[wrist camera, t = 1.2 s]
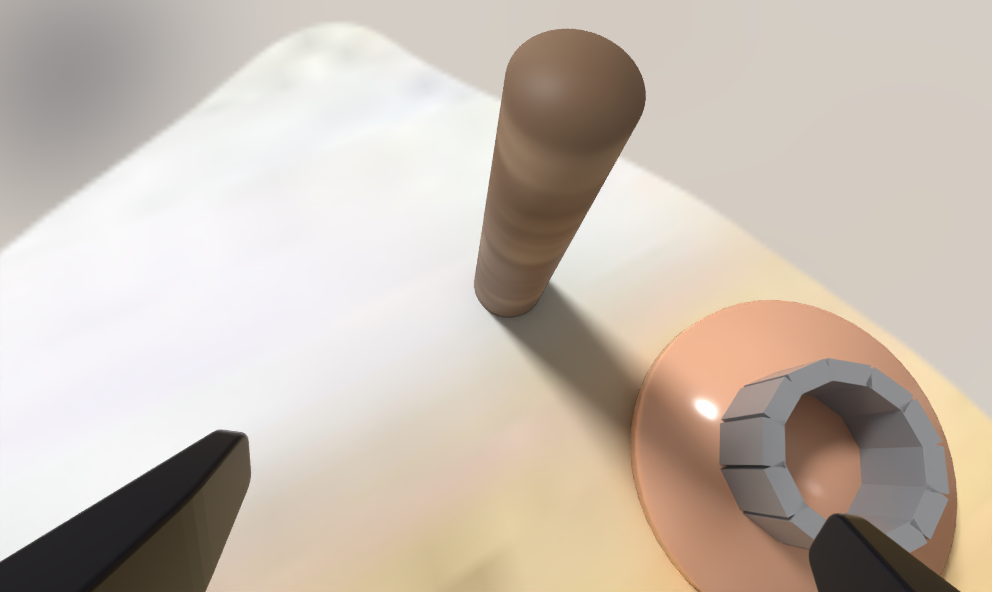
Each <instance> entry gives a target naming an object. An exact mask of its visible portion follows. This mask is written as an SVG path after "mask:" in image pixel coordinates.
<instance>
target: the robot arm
mask: <svg viewBox="0 0 992 592" xmlns="http://www.w3.org/2000/svg"><path fill="white" fill-rule="evenodd" d="M250 479H251V466H250V452H249V441H248V437H247V435H246V434H245V433H243V432H236V431H229V430H217V431H214V432H212V433H210V434H209V435H207V436H205V437H204V438H202V439H200V440H199V441H197V442H196V443H194V444H192V445H191V446H189V447H187V448H186V449H184V450H182V451H181V452H179V453H178V454H176V455H174V456H173V457H171V458H169V459H168V460H166V461H164V462H163V463H161V464H160V465H158V466H156V467H155V468H153V469H151V470H150V471H148V472H146V473H145V474H143V475H141V476H140V477H138V478H137V479H135V480H133V481H132V482H130V483H128V484H127V485H125V486H123V487H122V488H120V489H119V490H117V491H115V492H114V493H112V494H110V495H109V496H107V497H105V498H104V499H102V500H101V501H99V502H97V503H96V504H94V505H92V506H91V507H89V508H87V509H86V510H84V511H82V512H81V513H79V514H78V515H76V516H74V517H73V518H71V519H69V520H68V521H66V522H64V523H63V524H61V525H60V526H58V527H56V528H55V529H53V530H51V531H50V532H48V533H46V534H45V535H43V536H41V537H40V538H38V539H37V540H35V541H33V542H32V543H30V544H28V545H27V546H25V547H23V548H22V549H20V550H19V551H17V552H15V553H14V554H12V555H10V556H9V557H7V558H5V559H4V560H2V561H1V562H0V592H206V589H207V587H208V585H209V582H210V580H211V578H212V576H213V573H214V571H215V568H216V566H217V563H218V561H219V559H220V556H221V554H222V551H223V549H224V546H225V544H226V541H227V539H228V536H229V534H230V532H231V529H232V527H233V524H234V522H235V519H236V517H237V514H238V512H239V510H240V507H241V505H242V502H243V500H244V497H245V495H246V492H247V490H248V487H249V483H250ZM809 563H810V567H811V570H812V574H813V577H814V580H815V584H816V587H817V590H818V592H960V591H959V590H958V589H956V588H955V587H954V586H952V585H951V584H950V583H948V582H947V581H946V580H944V579H943V578H942V577H941V576H939V575H938V574H937V573H935V572H934V571H933V570H931V569H930V568H929V567H928V566H926V565H925V564H924V563H922V562H921V561H920V560H918V559H917V558H916V557H914V556H913V555H912V554H911V553H909V552H908V551H907V550H905V549H904V548H903V547H901V546H900V545H899V544H898V543H896V542H895V541H894V540H892V539H891V538H890V537H888V536H887V535H886V534H884V533H883V532H882V531H881V530H879V529H878V528H877V527H875V526H874V525H873V524H871V523H870V522H869V521H867V520H866V519H865V518H863V517H860V516H856V515H849V514H842V513H834V514H832V515H830V516H829V517H828V518H827V520H826V521H825V523H824V525H823V526H822V528H821V529H820V531H819V533H818V534H817V536H816V537H815V539H814V541H813V542H812V544H811V546H810V548H809Z"/></svg>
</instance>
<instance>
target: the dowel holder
mask: <svg viewBox="0 0 992 592" xmlns="http://www.w3.org/2000/svg"><path fill="white" fill-rule="evenodd" d="M631 462H632V470H633V477H634V481H635V486H636V490H637V494H638V498H639V501H640V503H641V506H642V509H643V512H644V514H645V517H646V520H647V522H648V524H649V526H650V528H651V530H652V532H653V534H654V536H655V538H656V539H657V541H658V543H659V544H660V546H661V547H662V549H663V550H664V552H665V553H666V555H667V556H668V558H669V559H670V561H671V562H672V563H673V565H674V566H675V567H676V568H677V569H678V570H679V572H680V573H681V574H682V575H683V576H684V578H685V579H686V580H687V581H688V582H689V583H690V584H692V585H693V586H694V587H695V588H696V589H697V590H698V591H699V592H818V590H817V587H816V584H815V580H814V577H813V574H812V570H811V567H810V563H809V548H810V546H811V544H812V542H813V541H814V539H815V537H816V536H817V534H818V533H819V531H820V529H821V528H822V526H823V525H824V523H825V521H826V520H827V518H828V517H829V516H830V515H832V514H834V513H842V514H849V515H856V516H860V517H863V518H865V519H866V520H867V521H869V522H870V523H871V524H873V525H874V526H875V527H877V528H878V529H879V530H881V531H882V532H883V533H884V534H886V535H887V536H888V537H890V538H891V539H892V540H894V541H895V542H896V543H898V544H899V545H900V546H901V547H903V548H904V549H905V550H907V551H908V552H909V553H911V554H912V555H913V556H914V557H916V558H917V559H918V560H920V561H921V562H922V563H924V564H925V565H926V566H928V567H929V568H930V569H931V570H933V571H934V572H935V573H937V574H938V575H939V576H940V575H941V573H942V571H943V569H944V567H945V564H946V561H947V558H948V555H949V553H950V550H951V547H952V542H953V537H954V532H955V527H956V513H957V492H956V479H955V473H954V468H953V462H952V457H951V454H950V451H949V447H948V444H947V440H946V437H945V435H944V432H943V430H942V427H941V425H940V422H939V420H938V417H937V415H936V414H935V412H934V410H933V408H932V406H931V404H930V402H929V400H928V399H927V397H926V395H925V394H924V392H923V391H922V389H921V388H920V386H919V385H918V383H917V382H916V380H915V379H914V378H913V377H912V375H911V374H910V373H909V372H908V370H907V369H906V368H905V367H904V366H903V364H902V363H901V362H900V361H899V360H898V359H897V358H896V357H895V356H894V355H893V354H892V353H891V352H890V351H889V350H888V349H887V348H886V347H885V346H883V345H882V344H881V343H880V342H878V341H877V340H876V339H875V338H873V337H872V336H871V335H870V334H868V333H867V332H865V331H864V330H862V329H861V328H859V327H857V326H856V325H854V324H853V323H851V322H849V321H847V320H845V319H843V318H841V317H839V316H837V315H835V314H833V313H831V312H828V311H825V310H822V309H820V308H817V307H814V306H810V305H805V304H801V303H797V302H789V301H780V300H763V301H753V302H747V303H740V304H737V305H734V306H731V307H727V308H724V309H722V310H720V311H717V312H715V313H713V314H711V315H709V316H707V317H705V318H703V319H702V320H700V321H698V322H696V323H695V324H693V325H692V326H690V327H689V328H687V329H686V330H684V331H683V332H681V333H680V334H679V335H678V336H676V337H675V338H674V339H673V340H672V341H671V342H670V343H669V344H668V345H667V346H666V347H665V348H664V349H663V351H662V352H661V353H660V354H659V356H658V357H657V358H656V359H655V361H654V363H653V364H652V366H651V368H650V369H649V371H648V373H647V374H646V376H645V379H644V381H643V383H642V386H641V388H640V391H639V393H638V397H637V400H636V404H635V408H634V412H633V419H632V426H631Z"/></svg>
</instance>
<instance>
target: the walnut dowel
mask: <svg viewBox="0 0 992 592" xmlns="http://www.w3.org/2000/svg"><path fill="white" fill-rule="evenodd" d="M645 92H646V91H645V86H644V81H643V78H642V75H641V73H640V71H639V69H638V67H637V66H636V64H635V62H634V61H633V60H632V59H631V57H630V56H629V55H628V54H627V53H626V52H625V51H624V50H623V49H622V48H620V47H619V46H618V45H616V44H615V43H613V42H612V41H610V40H608V39H606V38H604V37H602V36H600V35H597V34H595V33H592V32H588V31H583V30H576V29H558V30H551V31H547V32H544V33H541V34H538V35H536V36H534V37H532V38H531V39H529V40H527V41H526V42H525V43H523V44H522V45H521V46H520V47H519V48H518V49H517V50H516V52H515V53H514V55H513V56H512V57H511V59H510V62H509V64H508V66H507V70H506V74H505V80H504V87H503V94H502V100H501V107H500V114H499V120H498V127H497V134H496V140H495V147H494V153H493V160H492V167H491V173H490V180H489V187H488V193H487V200H486V207H485V213H484V220H483V226H482V233H481V240H480V246H479V253H478V260H477V266H476V273H475V280H474V288H475V293H476V296H477V298H478V300H479V301H480V303H481V304H482V305H483V306H484V307H485V308H486V309H487V310H488V311H490V312H491V313H493V314H496V315H498V316H502V317H516V316H520V315H522V314H525V313H526V312H528V311H529V310H531V309H532V308H533V307H534V306H535V305H536V303H537V302H538V300H539V298H540V296H541V294H542V293H543V291H544V289H545V287H546V286H547V284H548V282H549V280H550V278H551V277H552V275H553V273H554V271H555V269H556V268H557V266H558V264H559V262H560V261H561V259H562V257H563V255H564V253H565V252H566V250H567V248H568V246H569V244H570V243H571V241H572V239H573V237H574V236H575V234H576V232H577V230H578V228H579V227H580V225H581V223H582V221H583V219H584V218H585V216H586V214H587V212H588V211H589V209H590V207H591V205H592V203H593V202H594V200H595V198H596V196H597V194H598V193H599V191H600V189H601V187H602V186H603V184H604V182H605V180H606V178H607V177H608V175H609V173H610V171H611V169H612V168H613V166H614V164H615V162H616V161H617V159H618V157H619V155H620V153H621V152H622V150H623V148H624V146H625V144H626V143H627V141H628V139H629V137H630V136H631V134H632V132H633V130H634V128H635V127H636V125H637V123H638V121H639V119H640V117H641V115H642V113H643V110H644V106H645V100H646V96H645V95H646V94H645Z"/></svg>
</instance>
